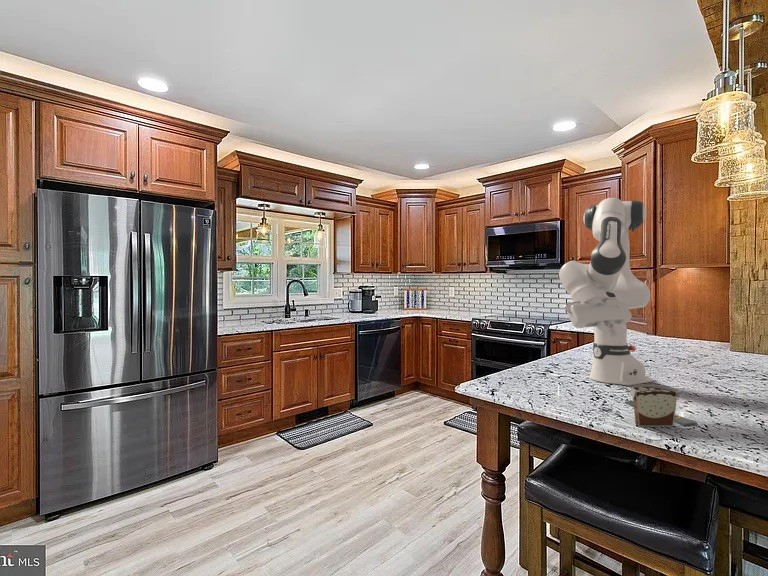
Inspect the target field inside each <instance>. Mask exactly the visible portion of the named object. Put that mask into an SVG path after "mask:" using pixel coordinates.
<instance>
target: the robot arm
mask: <svg viewBox="0 0 768 576" xmlns="http://www.w3.org/2000/svg"><path fill="white" fill-rule="evenodd" d="M583 213H584V214H583V218H582V219H583V223H584V225H585V228H586V229H588V230H590V231H592V236H593V238H594V239H595V240H596V241H598V244H596V246H594V248H593V249H592V251H591V254H590V255H591V256H590V261H589V263H582V262H581V263H580V262H578V261H577V260H570V261H568V262H566V263H564V264H563V265H562V266H561V268H560V269H559V273H558V278H559V279H560V283H561V284H562V286H563V287H564V290H565V292H566V293H568V294H569V295H570V298H571V300H572V302H571V301H570V302H567V303H565V304H564V309H565V310H566V312H567V315H568V318H569V320H570V322H571V324H572V326H574V328H576V329H580V328H581V329H584V328H593V330H594V331H593V334H594V335H593V336H594V337H593V338H594V341H593V343H592V352H593V358H592V366H591V370H590V375H589V377H588V378H589V379H590V380H593V381H597V382H601V383H604V384H605V383H606V384H612V385H613V384H614V385H615V384H616V385H621V386H623V385H624V386H634V385H639V384H645V383H646V384H647V383H652V382H653V381H654V378H652V377H650V376H647V375H646V368H645V365H644V364H643V363H642V362H641V361H640V360H638V359H637V358H636V357H635V356H633V355H632V354H631V352H636V350H637V347H636V345H632V344H631V345H628V344H627V342H628V339H627V338H628V337H627V335H628V329H627V328H628V327H627V325H626V324H627V323H629V322H630V321H631V320H632V318H633V317H632V316H633V315H632V313H631V312H630V311H631V310H634V309H635V310H636V309H641V308H644V307H646V306H647V304H648V303H649V302H650V299H651V290H650V288H649V286H648V285H647V284H646V283H645V282H643V281H641V280H640V279H638V277H636V276H635V275H634V274H633V272H632V270H631V265H630V264H631V263H630V252H631V251H630V250H631V249H630V248H631V247H630V238H629V231H631V233H635V231H636V230H637V229H638V228H640V227H641V226H642V225H643V224H644V221H645V220H646V217H647V209H646V206H645V204H644V203H643V201H640V200H631V201H628V200H626V201H623V200H621V199H620V198H618V197H608V198H604V199H602V200H601V201H600V202H599V203H598V204H593V205H590V206H588V207H587V208H586V209H585V210H584V212H583Z"/></svg>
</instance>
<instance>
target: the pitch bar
mask: <svg viewBox="0 0 768 576" xmlns="http://www.w3.org/2000/svg"><path fill="white" fill-rule="evenodd" d="M625 403H626V404H625ZM624 404H625V405H628V404H629V406H631V407H633V406H634V402H633V400H625V401H624ZM674 423H675V424H678V423H679V425H680V426H684V427H686V426H696V425H695V424H697V425H698V422H697V421H695V420H692V419H689V418H686V417H684V416H681V415H678V414H676V413H675V417H674Z"/></svg>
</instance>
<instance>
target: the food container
mask: <svg viewBox="0 0 768 576" xmlns="http://www.w3.org/2000/svg"><path fill="white" fill-rule="evenodd" d="M629 395H630V397H632V401H633V402H634V407H633V411H634V412H633V413H634V422H635V425H636V426H637V427H646V428H647V427H674V424H675V422H674V417H675V414H676V409H677V399H678V398H680V393H679V391H678V389H677V388H674V387H669V386H665V385H660V384H659V385H658V384H647V383H646V384H645V383H641V384H635V385H632V388H631V389H630V393H629Z"/></svg>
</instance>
